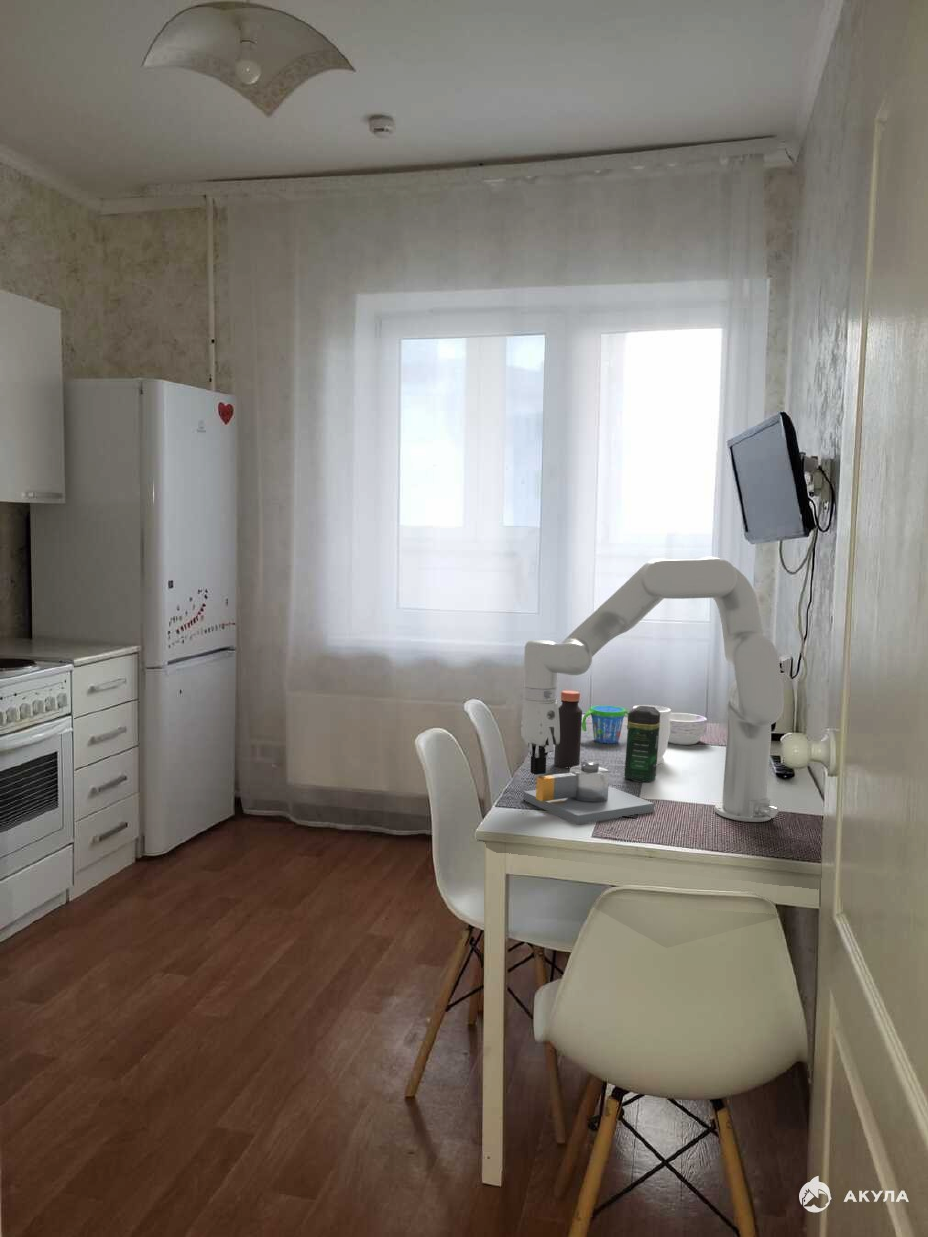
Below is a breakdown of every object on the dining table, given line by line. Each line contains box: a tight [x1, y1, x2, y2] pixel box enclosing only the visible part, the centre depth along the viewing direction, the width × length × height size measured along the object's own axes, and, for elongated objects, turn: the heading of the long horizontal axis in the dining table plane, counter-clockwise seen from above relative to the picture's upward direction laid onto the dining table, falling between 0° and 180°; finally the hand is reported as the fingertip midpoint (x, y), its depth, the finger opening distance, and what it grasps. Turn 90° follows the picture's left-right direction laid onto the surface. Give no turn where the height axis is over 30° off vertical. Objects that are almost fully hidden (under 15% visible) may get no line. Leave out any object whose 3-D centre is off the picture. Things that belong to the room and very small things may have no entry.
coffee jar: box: [624, 706, 660, 783], centre depth 241 cm, size 10×8×19 cm
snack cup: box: [581, 704, 630, 745], centre depth 283 cm, size 16×10×10 cm
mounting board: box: [522, 785, 655, 826], centre depth 214 cm, size 20×22×2 cm
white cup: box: [632, 704, 672, 765], centre depth 260 cm, size 11×10×15 cm
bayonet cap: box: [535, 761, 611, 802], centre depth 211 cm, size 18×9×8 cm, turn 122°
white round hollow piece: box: [668, 712, 708, 746], centre depth 287 cm, size 15×15×8 cm
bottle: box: [553, 690, 583, 769], centre depth 250 cm, size 7×7×20 cm
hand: (538, 773), depth 215 cm, fingers closed
